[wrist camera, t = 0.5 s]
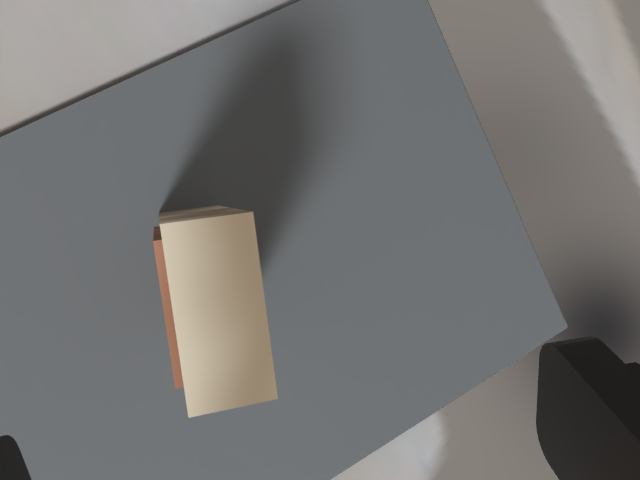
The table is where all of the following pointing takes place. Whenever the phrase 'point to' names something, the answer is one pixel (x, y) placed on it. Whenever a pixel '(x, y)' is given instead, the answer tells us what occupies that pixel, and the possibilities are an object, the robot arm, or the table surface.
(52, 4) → the table surface
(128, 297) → the mat
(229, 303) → the card box
